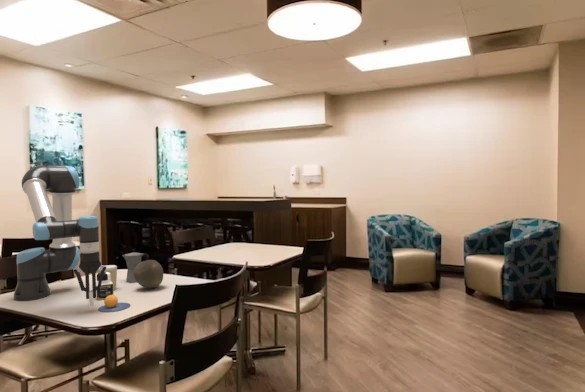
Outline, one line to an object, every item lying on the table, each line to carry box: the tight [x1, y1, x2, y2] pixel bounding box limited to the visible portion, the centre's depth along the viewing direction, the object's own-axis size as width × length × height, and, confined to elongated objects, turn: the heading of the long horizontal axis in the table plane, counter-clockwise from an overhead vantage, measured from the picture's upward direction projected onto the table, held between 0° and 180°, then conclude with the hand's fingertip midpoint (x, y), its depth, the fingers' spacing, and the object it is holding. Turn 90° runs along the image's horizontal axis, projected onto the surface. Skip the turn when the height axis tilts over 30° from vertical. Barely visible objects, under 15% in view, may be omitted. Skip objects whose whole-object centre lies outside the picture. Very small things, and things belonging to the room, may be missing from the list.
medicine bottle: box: [95, 272, 114, 301], centre depth 192 cm, size 7×7×12 cm
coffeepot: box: [121, 248, 150, 284], centre depth 224 cm, size 15×9×18 cm, turn 88°
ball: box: [103, 294, 119, 308], centre depth 175 cm, size 6×6×6 cm
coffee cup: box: [97, 264, 118, 291], centre depth 206 cm, size 9×9×12 cm
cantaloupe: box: [134, 259, 164, 290], centre depth 206 cm, size 14×14×15 cm
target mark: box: [97, 302, 131, 313], centre depth 175 cm, size 13×13×1 cm
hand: (91, 305), depth 172 cm, fingers closed
